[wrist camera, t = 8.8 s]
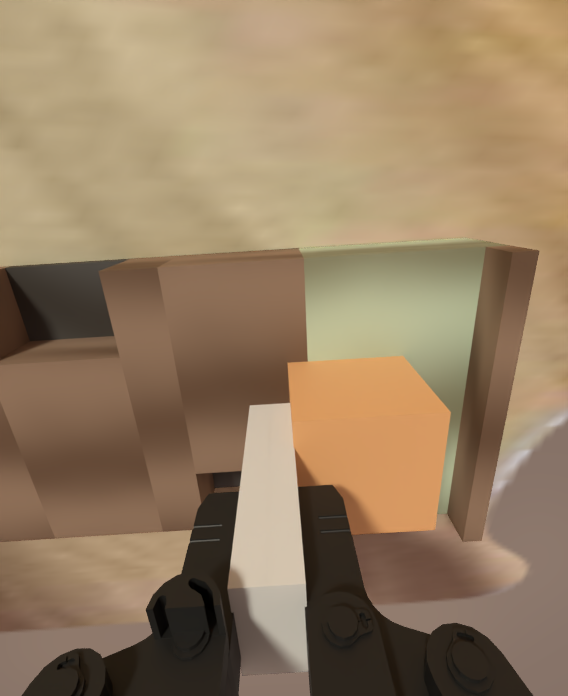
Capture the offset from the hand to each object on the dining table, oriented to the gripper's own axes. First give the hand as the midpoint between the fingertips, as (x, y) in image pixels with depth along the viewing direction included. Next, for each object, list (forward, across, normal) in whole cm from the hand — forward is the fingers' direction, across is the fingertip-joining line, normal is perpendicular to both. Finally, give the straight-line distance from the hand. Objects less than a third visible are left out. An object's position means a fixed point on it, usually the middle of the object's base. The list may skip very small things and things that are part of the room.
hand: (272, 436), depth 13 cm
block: (+2, +3, 0) cm, 3 cm away
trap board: (+5, -4, 0) cm, 6 cm away
